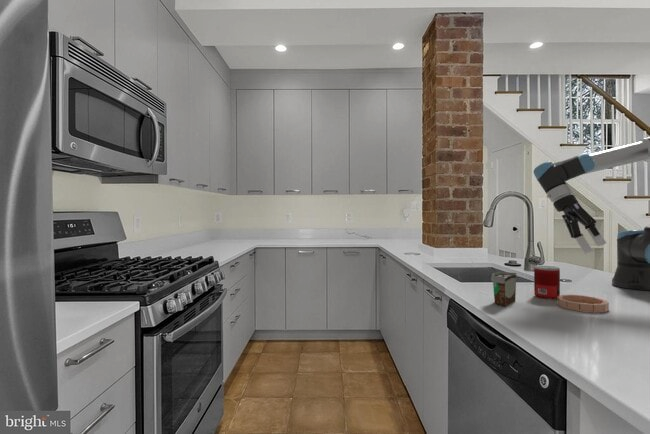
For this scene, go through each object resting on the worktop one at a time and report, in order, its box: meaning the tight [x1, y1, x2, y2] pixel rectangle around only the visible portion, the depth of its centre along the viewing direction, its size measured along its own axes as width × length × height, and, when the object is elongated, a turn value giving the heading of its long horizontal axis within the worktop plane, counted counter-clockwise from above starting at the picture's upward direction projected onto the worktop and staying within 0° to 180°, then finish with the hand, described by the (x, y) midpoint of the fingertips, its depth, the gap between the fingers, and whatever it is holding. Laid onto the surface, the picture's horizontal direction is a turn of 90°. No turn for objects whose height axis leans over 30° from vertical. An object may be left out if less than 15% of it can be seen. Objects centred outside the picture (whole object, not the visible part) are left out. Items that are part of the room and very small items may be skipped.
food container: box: [490, 271, 518, 308], centre depth 124 cm, size 12×6×10 cm, turn 134°
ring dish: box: [556, 294, 610, 313], centre depth 118 cm, size 13×13×2 cm
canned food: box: [533, 265, 561, 300], centre depth 131 cm, size 8×8×11 cm
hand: (595, 248), depth 129 cm, fingers open, 13 cm apart
